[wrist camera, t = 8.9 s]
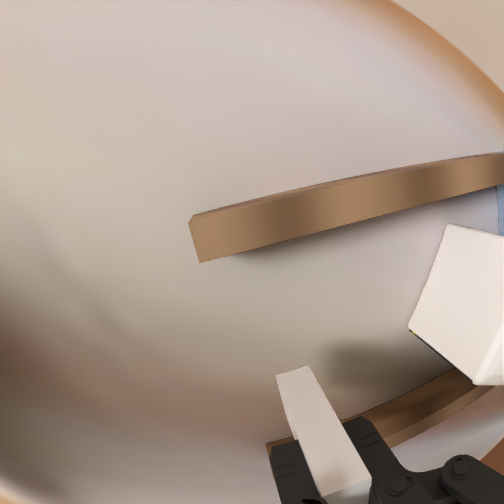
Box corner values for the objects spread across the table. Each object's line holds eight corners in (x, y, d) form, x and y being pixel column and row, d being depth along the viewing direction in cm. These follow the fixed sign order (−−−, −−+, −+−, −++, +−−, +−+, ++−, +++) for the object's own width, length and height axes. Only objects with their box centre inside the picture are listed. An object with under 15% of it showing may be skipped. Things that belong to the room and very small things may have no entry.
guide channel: (270, 456, 18) (277, 487, 15) (193, 214, 14) (188, 222, 11) (488, 359, 20) (509, 374, 17) (491, 153, 16) (522, 152, 13)
